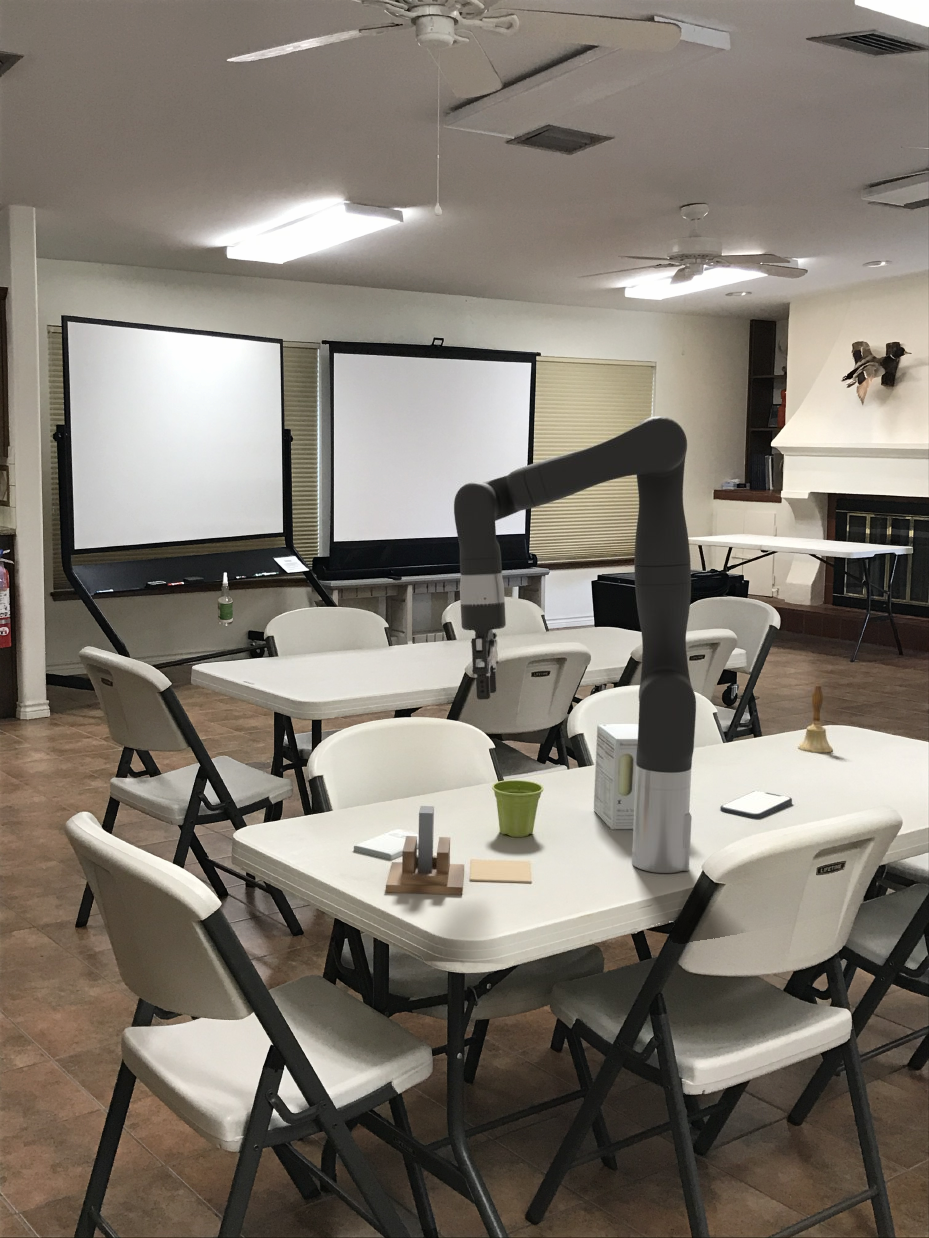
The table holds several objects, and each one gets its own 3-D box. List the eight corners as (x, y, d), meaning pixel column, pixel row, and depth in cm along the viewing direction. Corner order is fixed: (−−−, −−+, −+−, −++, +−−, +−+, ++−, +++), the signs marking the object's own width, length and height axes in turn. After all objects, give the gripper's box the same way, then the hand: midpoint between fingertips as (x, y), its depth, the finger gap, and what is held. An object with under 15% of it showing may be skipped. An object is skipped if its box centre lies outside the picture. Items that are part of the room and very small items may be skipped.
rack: (464, 871, 197) (465, 834, 196) (462, 894, 186) (463, 856, 185) (391, 868, 197) (392, 832, 196) (385, 892, 186) (386, 853, 185)
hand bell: (799, 751, 290) (803, 687, 288) (796, 744, 298) (799, 681, 296) (835, 754, 289) (839, 689, 287) (830, 746, 297) (834, 683, 295)
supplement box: (610, 830, 222) (614, 738, 220) (592, 810, 235) (595, 723, 233) (679, 828, 224) (683, 737, 222) (657, 809, 237) (661, 722, 235)
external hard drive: (353, 853, 206) (395, 836, 217) (391, 863, 202) (432, 844, 212) (353, 844, 206) (395, 827, 216) (391, 854, 202) (433, 835, 212)
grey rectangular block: (432, 868, 194) (434, 806, 193) (431, 877, 190) (432, 813, 189) (419, 868, 194) (420, 805, 193) (417, 876, 190) (419, 812, 189)
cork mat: (529, 862, 202) (529, 861, 202) (531, 882, 192) (531, 880, 192) (470, 860, 202) (471, 859, 202) (469, 880, 192) (469, 878, 192)
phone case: (758, 823, 231) (794, 805, 243) (758, 815, 231) (794, 797, 243) (717, 814, 237) (754, 797, 249) (717, 806, 237) (755, 789, 249)
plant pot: (547, 839, 215) (548, 792, 214) (496, 841, 214) (497, 793, 212) (535, 824, 224) (537, 779, 223) (486, 825, 223) (487, 780, 222)
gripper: (499, 602, 194) (504, 701, 195) (509, 597, 208) (513, 689, 209) (454, 604, 195) (459, 702, 196) (466, 599, 210) (471, 691, 211)
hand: (487, 695), depth 203 cm, fingers open, 8 cm apart
